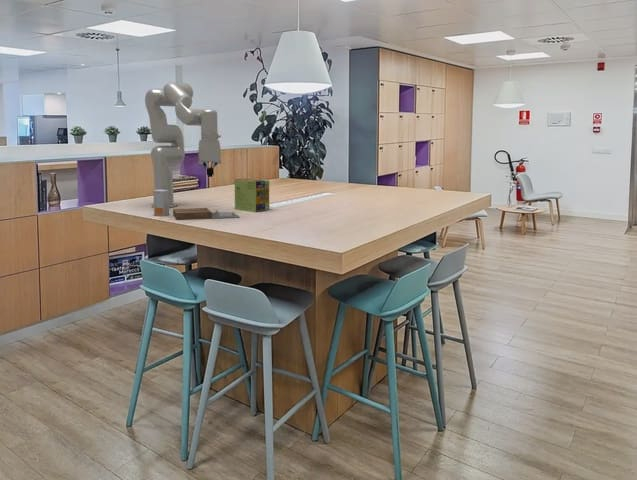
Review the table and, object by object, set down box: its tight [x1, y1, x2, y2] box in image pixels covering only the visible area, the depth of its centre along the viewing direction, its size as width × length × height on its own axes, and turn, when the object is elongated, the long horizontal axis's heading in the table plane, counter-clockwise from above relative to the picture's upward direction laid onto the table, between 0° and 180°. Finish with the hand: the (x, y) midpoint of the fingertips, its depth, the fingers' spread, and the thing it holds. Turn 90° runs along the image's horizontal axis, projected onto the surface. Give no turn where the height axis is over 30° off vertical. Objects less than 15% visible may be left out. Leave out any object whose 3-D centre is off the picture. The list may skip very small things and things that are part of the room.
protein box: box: [234, 178, 270, 213], centre depth 287 cm, size 10×15×16 cm
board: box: [172, 207, 213, 221], centre depth 262 cm, size 14×16×3 cm
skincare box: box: [152, 189, 170, 217], centre depth 265 cm, size 6×4×12 cm
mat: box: [212, 211, 241, 220], centre depth 268 cm, size 16×13×1 cm
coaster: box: [215, 208, 233, 217], centre depth 267 cm, size 9×6×2 cm, turn 21°
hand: (210, 176), depth 262 cm, fingers closed
